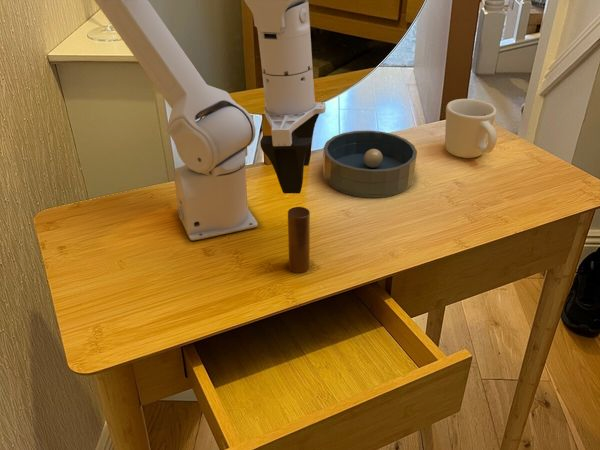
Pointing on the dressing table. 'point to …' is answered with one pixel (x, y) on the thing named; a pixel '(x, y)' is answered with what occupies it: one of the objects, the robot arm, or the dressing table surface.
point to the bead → (373, 158)
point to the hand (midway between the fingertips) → (296, 177)
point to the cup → (470, 127)
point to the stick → (299, 239)
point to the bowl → (357, 175)
